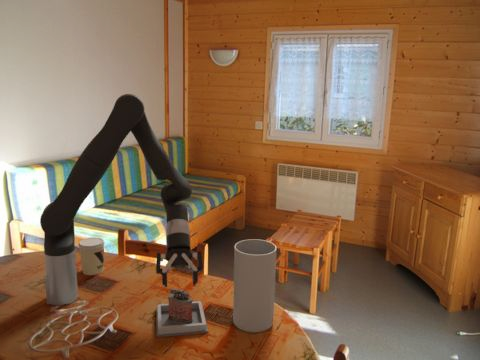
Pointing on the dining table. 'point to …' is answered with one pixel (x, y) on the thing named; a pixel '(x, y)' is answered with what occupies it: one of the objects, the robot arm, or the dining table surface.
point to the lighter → (180, 306)
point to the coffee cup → (92, 255)
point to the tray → (175, 328)
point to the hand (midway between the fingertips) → (180, 285)
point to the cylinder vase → (254, 285)
